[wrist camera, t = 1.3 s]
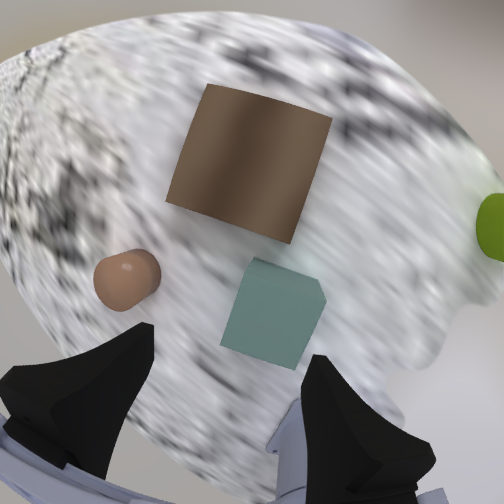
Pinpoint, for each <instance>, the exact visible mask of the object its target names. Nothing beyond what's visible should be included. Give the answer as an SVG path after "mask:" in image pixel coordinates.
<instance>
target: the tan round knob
mask: <svg viewBox="0 0 504 504" xmlns="http://www.w3.org/2000/svg"><path fill="white" fill-rule="evenodd" d="M160 281H161V270H160V266H159V264H158V262H157V260H156V259H155V257H154V256H153V255H152V254H151V253H149V252H148V251H146V250H143V249H133V250H130V251H126V252H123V253H120V254H117V255H114V256H111V257H108V258H105V259H103V260H101V261H100V262H99V263H98V265H97V266H96V268H95V271H94V277H93V282H94V287H95V291H96V293H97V295H98V297H99V299H100V300H101V301H102V303H103V304H104V305H105V306H107V307H108V308H110V309H112V310H114V311H119V312H122V311H126V310H128V309H130V308H132V307H133V306H134V305H136V304H137V303H139V302H140V301H142V300H143V299H145V298H146V297H148V296H149V295H151V294H152V293H153V292H155V291H156V290H157V288H158V287H159V284H160Z"/></svg>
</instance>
